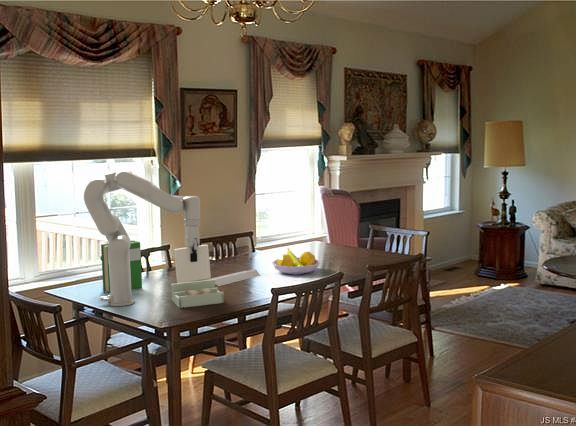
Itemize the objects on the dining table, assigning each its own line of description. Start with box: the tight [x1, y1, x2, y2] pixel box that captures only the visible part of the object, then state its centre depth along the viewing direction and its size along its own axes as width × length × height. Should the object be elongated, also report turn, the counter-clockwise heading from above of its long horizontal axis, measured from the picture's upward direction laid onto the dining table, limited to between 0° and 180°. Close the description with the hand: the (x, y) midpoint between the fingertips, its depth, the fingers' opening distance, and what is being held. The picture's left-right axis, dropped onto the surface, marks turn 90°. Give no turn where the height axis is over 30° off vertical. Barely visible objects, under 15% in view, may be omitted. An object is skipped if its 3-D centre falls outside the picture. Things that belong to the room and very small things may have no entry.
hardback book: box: [100, 240, 143, 294], centre depth 338 cm, size 18×7×24 cm, turn 129°
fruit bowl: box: [271, 247, 321, 276], centre depth 376 cm, size 28×27×11 cm
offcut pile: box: [185, 288, 212, 296], centre depth 311 cm, size 12×6×6 cm, turn 118°
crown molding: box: [206, 269, 261, 287], centre depth 360 cm, size 31×12×4 cm, turn 139°
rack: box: [170, 279, 225, 309], centre depth 313 cm, size 21×15×8 cm
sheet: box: [173, 244, 212, 283], centre depth 315 cm, size 16×2×16 cm, turn 113°
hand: (193, 260), depth 315 cm, fingers closed on sheet, 2 cm apart
